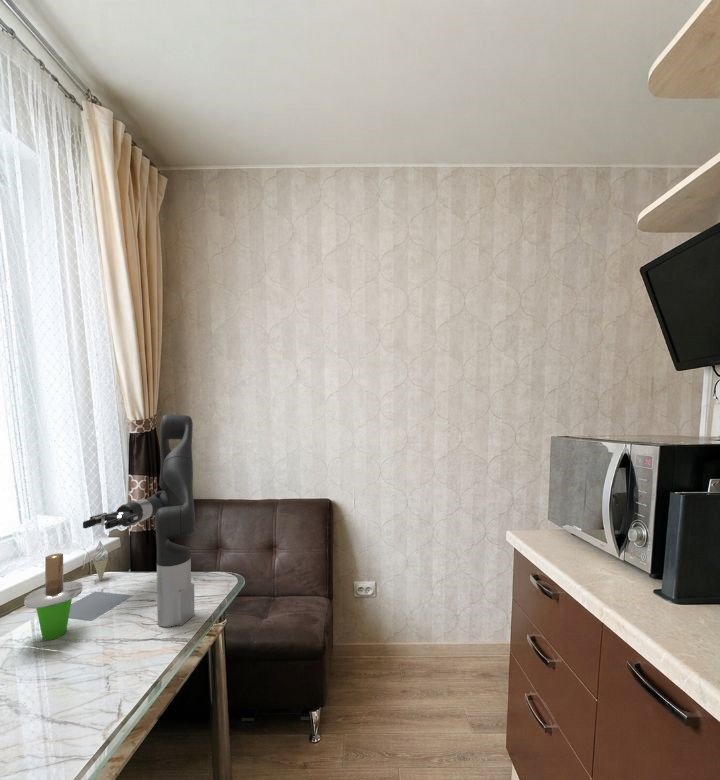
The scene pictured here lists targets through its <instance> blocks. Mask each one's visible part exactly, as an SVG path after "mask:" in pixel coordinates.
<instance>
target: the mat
mask: <svg viewBox="0 0 720 780" xmlns="http://www.w3.org/2000/svg"><path fill="white" fill-rule="evenodd" d="M132 597H134V595H133V594H124V593H115V592H104V591H95V590H94V591H92V592H91V593H90V594H88V595H86V596H84V597H82V598H80V599H78V600H76V601H73V602H71V607H70V613H69V618H68V619H72V620H80V621H81V620H82V621H89V622H92V621H94V620H95V619H97V618H99V617H101V616H103V615H104V614H105V613H107V612H109V611H111V610H112V609H113V608H116V607H117V606H119V605H120V604H122V603H124V602H126V601H127V600H129V599H130V598H132Z"/></svg>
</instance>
